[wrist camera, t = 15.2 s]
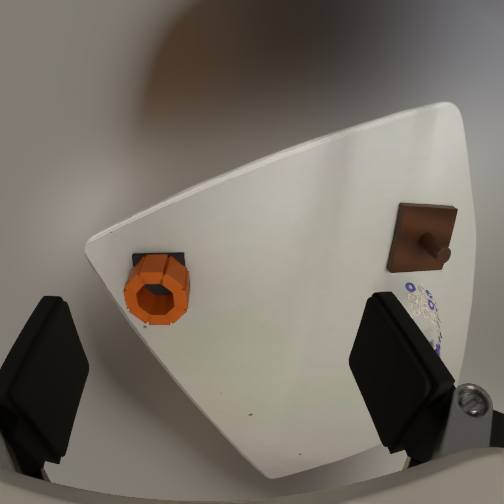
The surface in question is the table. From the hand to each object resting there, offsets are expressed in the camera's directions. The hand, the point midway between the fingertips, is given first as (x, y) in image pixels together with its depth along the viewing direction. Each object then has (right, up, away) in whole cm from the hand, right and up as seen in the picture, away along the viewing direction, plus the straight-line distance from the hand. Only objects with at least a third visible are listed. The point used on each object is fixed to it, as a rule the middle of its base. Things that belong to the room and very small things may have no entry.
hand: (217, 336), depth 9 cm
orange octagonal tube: (-10, -1, +27) cm, 29 cm away
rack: (+23, +5, +29) cm, 37 cm away
